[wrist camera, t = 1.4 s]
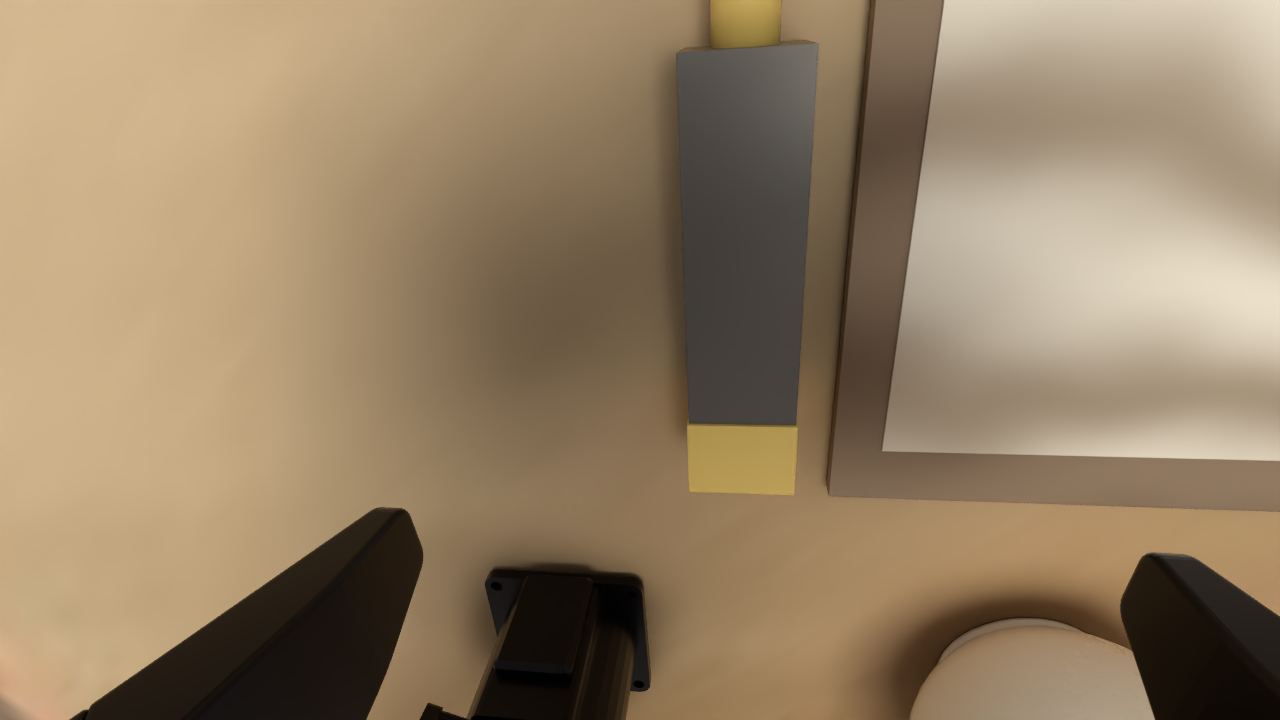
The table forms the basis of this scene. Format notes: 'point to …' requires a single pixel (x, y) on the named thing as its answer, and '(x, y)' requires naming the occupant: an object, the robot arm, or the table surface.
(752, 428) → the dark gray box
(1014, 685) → the lidded jar
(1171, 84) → the writing board
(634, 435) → the table surface
